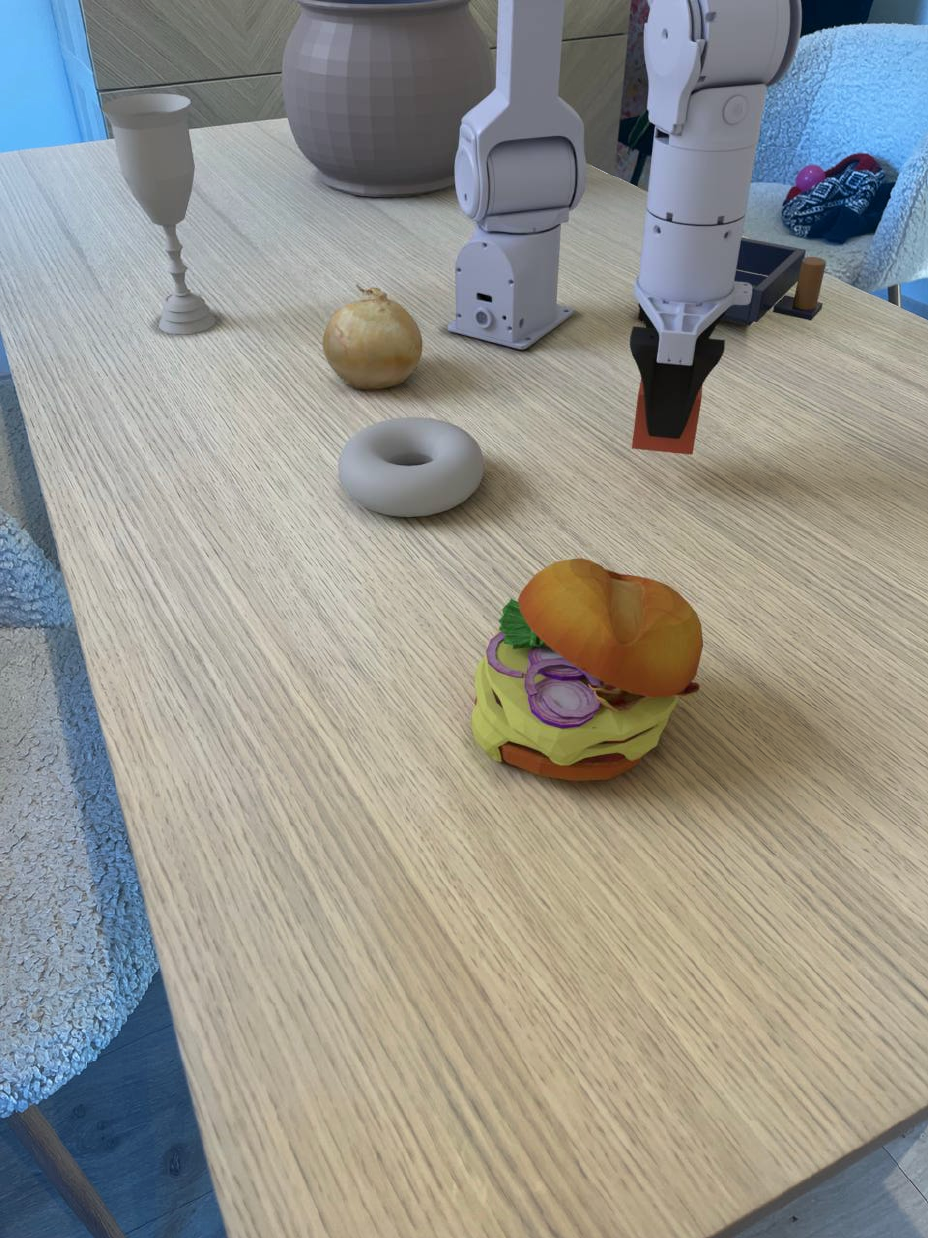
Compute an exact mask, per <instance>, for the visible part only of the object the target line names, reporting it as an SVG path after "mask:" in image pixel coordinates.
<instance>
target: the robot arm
mask: <svg viewBox="0 0 928 1238" xmlns="http://www.w3.org/2000/svg"><path fill="white" fill-rule="evenodd" d="M497 1H498V2H497V30H496V61H495V62H496V65H495V80H496V88H495V89H494V91H493V92H492V93H491V94H489V95H488V96H487V97H486V98H485V99H484V100H482V101H481V102H480V103H479V104H478V105H476V106H475V107H474V108H473V109H471V110H470V111H469V112H468V113H467V114H466V115H465V116H464V117H463V118H462V125H461V126H460V137H459V147H458V151H457V154H456V158H455V186H454V187H455V192H456V197H457V201H458V204H459V206H460V209H461V211H462V212H463V214H464V215H465V216H467V219H469V220H470V221H471V222H473V223H475V226H474V231H473V232H472V233H473V234H472V236H471V238H470V239H469V241H468V242H466V244H465V245H464V246H463V247H462V248H461V250H460V251H459V252H458V254H457V256H456V260H455V268H454V284H455V286H454V288H455V291H454V292H455V319H454V320H453V321H451V322H450V323H448V324H447V331H448V332H451V333H455V334H459V335H463V336H467V337H471V338H475V339H478V340H482V341H486V342H489V343H494V344H497V345H501V346H505V347H508V348H513V349H516V350H521V351H523V350H527V349H528V348H529V347H530V346H532V345H533V344H535V343H536V342H537V341H538V340H540V339H541V338H543V337H544V336H545V335H547V334H548V333H550V332H551V331H553V330H554V329H555V328H556V327H558V326H559V325H560V324H562V323H563V322H565V321H566V320H568V318H570V317H571V316H573V315H574V314H575V309H574V308H573V307H571V306H567V305H563V304H558V303H557V302H558V285H559V283H558V281H559V266H560V249H561V248H560V247H561V230H562V229H561V228H562V224H564V223H568V222H569V217H570V211H571V212H572V211H574V210H575V209H576V208H577V207H578V205H579V204H580V203H581V202H580V201H581V200H582V198H583V195H584V193H585V190H586V187H587V186H586V185H587V172H588V170H587V169H588V168H587V159H586V153H585V124H584V122H583V120H582V118H581V116H580V115H579V113H578V112H577V111H576V110H575V109H574V108H573V107H572V106H571V105H570V104H569V103H567V102H566V101H565V100H564V99H563V98H562V97H561V96H559V87H560V72H561V60H562V59H561V57H562V44H563V43H562V42H563V30H564V28H563V27H564V14H565V0H497ZM646 2H647V5H648V7H649V12H648V16H647V22H645V23H644V26H643V55H644V62H645V68H646V72H647V73H646V74H647V79H648V81H647V82H648V94H647V103H646V110H647V111H648V121H649V123H651V124H652V125H654V133H653V141H652V152H651V161H650V167H649V168H650V170H649V178H648V188H647V195H646V196H647V197H646V208H645V216H644V225H643V233H642V242H641V250H640V251H641V252H640V259H639V269H638V275H637V276H636V278H635V280H634V285H633V296H634V298H635V299H636V301H637V306H638V309H640V311H641V314H642V317H643V319H644V321H643V323H644V325H645V326H644V327H642V326H632V327H631V331H630V337H629V348H630V353H631V356H632V357H633V359H634V362H635V363H636V366H637V369H638V371H639V375H640V380H641V379H642V384H643V390H644V402H645V416H646V425H647V431H648V435H649V436H654V437H664V438H674V439H679V438H680V437H681V435H682V433H683V431H684V429H685V427H686V424H687V422H688V419H689V416H690V413H691V411H692V408H693V405H694V402H695V400H696V397H697V395H698V392H699V390H700V388H701V386H702V384H704V383H705V381H706V379H707V378H708V376H709V375H710V374H711V372H712V371H713V370H714V369H715V368H716V366H717V365H718V364H719V362H720V360H721V359H722V357H723V356H724V353H725V349H726V348H725V347H726V346H725V345H726V340H725V339H718V338H717V339H716V338H711V335H712V334H713V333H714V331H715V329H716V327H717V326H718V325H719V323H720V321H722V320H721V318H722V317H723V316H724V315H725V313H726V310H727V309H728V308H729V307H730V306H732V305H748V304H750V302H751V297H752V285H751V284H749V283H746V282H737V281H734V278H735V273H736V267H737V261H738V255H739V249H740V243H741V237H742V236H743V231H744V224H745V219H746V213H747V208H748V203H749V196H750V190H751V184H752V179H753V173H754V166H755V161H756V155H757V150H758V143H759V138H760V137H759V136H760V132H761V126H762V120H763V113H764V108H765V102H766V97H767V96H766V95H767V89H768V87H772V86H775V85H776V84H778V83H779V82H780V81H781V80H782V79H783V78H784V77H785V75H787V73H788V71H789V70H790V68H791V66H792V64H793V61H794V60H795V57H796V53H797V51H798V47H799V44H800V39H801V33H802V22H803V9H802V0H646ZM742 238H743V237H742Z"/></svg>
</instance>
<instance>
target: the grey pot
mask: <svg viewBox="0 0 928 1238" xmlns="http://www.w3.org/2000/svg"><path fill="white" fill-rule="evenodd" d="M293 1H294V2H296V3H297V4H299V5H300V6H301V13H300V15H299V17H298V20H297V21H296V23H295V25H294V26H293V28H292V30H291V32H290V34H289V36H288V39H287V41H286V43H285V46H284V51H283V56H282V64H281V65H282V67H281V89H282V98H283V103H284V110H285V114H286V118H287V122H288V125H289V129H290V132H291V134H292V136H293V139H294V142H295V144H296V145H297V147H298V149H299V151H300V152H301V154H302V155H303V156H304V157H305V158H306V160H308V162H309V163H311V164H312V166H314V167H315V168H317V172H316V175H317V178H318V179H319V180H320V181H321V182H322V183H323V184H325V186H328V187H329V188H331V189H334V190H336V191H339V192H341V193H346V194H350V195H353V196H363V197H374V198H395V197H409V196H417V195H425V194H430V193H436V192H440V191H443V190H447V189H450V188H453V187H456V186H455V158H456V154H457V151H458V147H459V137H460V126H461V125H462V118H463V117H464V116H465V115H466V114H467V113H468V112H469V111H470V110H471V109H473V108H474V107H475V106H476V105H478V104H479V103H480V102H481V101H482V100H484V99H485V98H486V97H487V96H488V95H489V94H491V93H492V92H493V91H494V89H495V88H496V68H495V63H494V57H493V53H492V50H491V48H490V45H489V42H488V39H487V37H486V35H485V33H484V31H483V29H482V27H481V26H480V24H479V23H478V21H477V20H476V19H475V17H474V15H473V14H472V12H471V10H470V5H469V4H470V2H471V1H472V0H293Z"/></svg>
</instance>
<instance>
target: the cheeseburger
mask: <svg viewBox="0 0 928 1238" xmlns="http://www.w3.org/2000/svg"><path fill="white" fill-rule="evenodd" d="M501 611H502V614H503V615H502V616H501V617H500V619H498V622H499V624H500V626H499V628H498V631H497V632H496V633H495V634H494V635H493V636H492V638H491V639H490V640H489V643H488V645H487V648H486V650H485V655H484V656H483V657H482V659H481V660H480V661H479V662H478V665H477V667H476V671H475V674H474V692H475V699H474V707H473V708H472V712H471V713H472V714H471V720H470V721H471V724H470V727H471V731H472V734H473V737H474V741H475V743H477V744H478V745H479V746H480V747H481V748H482V750H483V751H484V752H485V753H486V754H487V755H488V756H489V757H490V759H491V760H493V761H495V762H497V763H501V762H502V759H503V761H505V762H506V763H507V764H510V765H513V766H515V767H517V768H520V769H523V770H524V771H527V772H530V773H531V774H535V775H537V776H542V777H547V778H553V779H562V780H566V781H573V782H580V781H598V780H599V781H601V780H602V781H603V780H605V781H606V780H611V779H612V778H615V777H617V776H619V775H621V774H623V773H625V772H626V771H629V770H631V769H632V768H635V767H637V766H638V765H639V763H640V761H641V760H642V759H643V757H644V755H646V754H647V753H648V752H649V751H651V750H652V749H654V748H656V747H657V746H658V744H659V740H660V737H661V734H662V733H663V731H664V730H665V728H666V726H667V724H668V722H669V721H668V720H669V718H670V716H671V713H672V712H673V710H674V709H675V708H676V705H677V703H678V700H679V698H689V697H691V696H694V695H696V694H698V693H699V691H700V688H701V684H699V683H698V682H697V681H696V682H695V681H694V679H695V678H696V676H697V673H698V669H699V665H700V661H701V657H702V652H703V649H704V640H703V639H704V638H703V637H704V636H703V627H702V622H701V620H700V618H699V615H698V613H697V612H696V610H695V609H694V607H692V606H691V604H690V603H689V602H688V600H686V599H685V598H684V596H682V594H681V593H680V592H679V591H677V590H676V589H674V588H673V587H671V586H669V585H668V584H665V583H664V582H661V581H658V580H655V579H652V578H648V577H644V576H639V575H632V574H626V573H618V572H615V571H613V570H610V569H606V568H605V567H604V566H602V565H601V564H600V563H597V562H595V561H593V560H590V559H586V558H582V557H580V558H571V559H564V560H557V561H554V562H553V563H551V564H549V565H548V566H546V567H545V568H542V569H541V570H540V571H538V572H536V573H535V574H534V576H533V577H531V579H530V580H529V581H528V582H527V583H526V585H525V586H524V587H523V589H522V591H521V592H520V594H519V596H518V598H517V600H514V599H512V598H510V599H509V601H508V602H507V603H506V604H505V606H503V608H501Z"/></svg>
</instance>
